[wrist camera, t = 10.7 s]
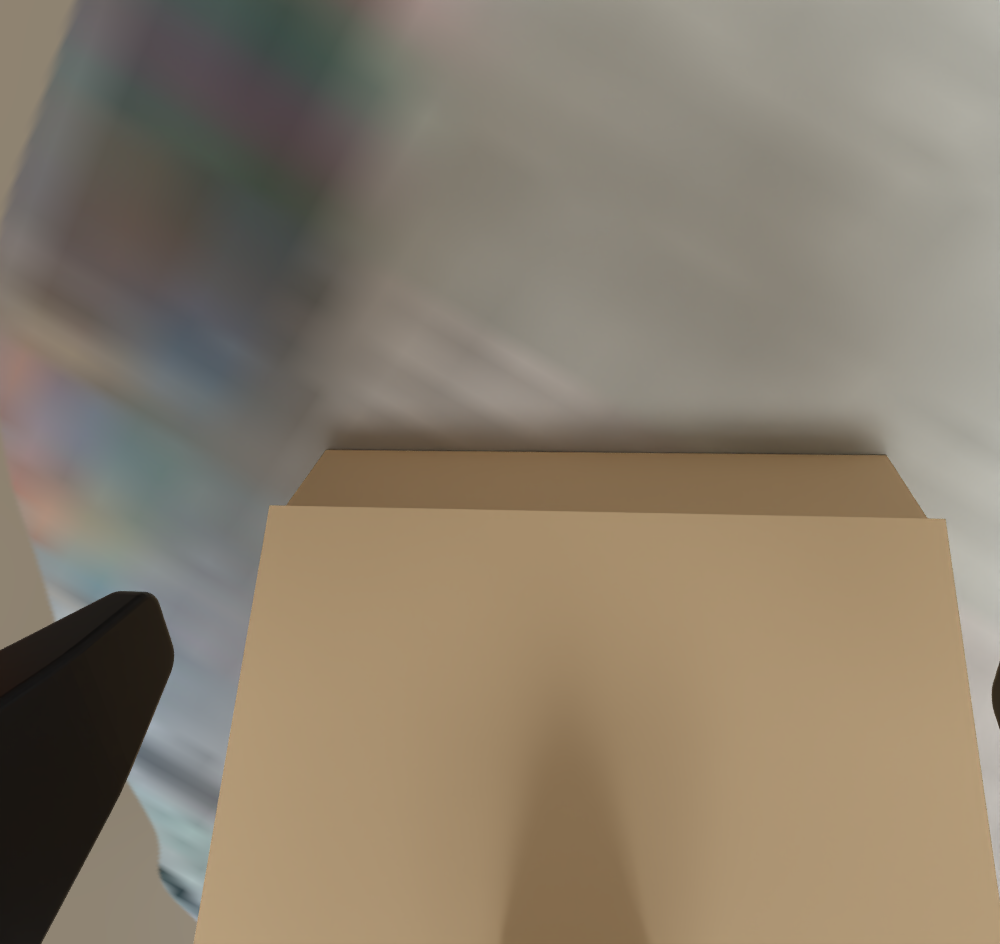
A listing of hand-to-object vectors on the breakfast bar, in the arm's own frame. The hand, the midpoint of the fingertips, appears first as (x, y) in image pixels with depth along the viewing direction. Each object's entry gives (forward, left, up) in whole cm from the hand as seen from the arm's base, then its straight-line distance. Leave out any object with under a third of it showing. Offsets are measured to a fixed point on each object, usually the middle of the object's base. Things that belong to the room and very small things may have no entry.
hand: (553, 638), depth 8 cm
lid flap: (-8, 0, -5) cm, 9 cm away
